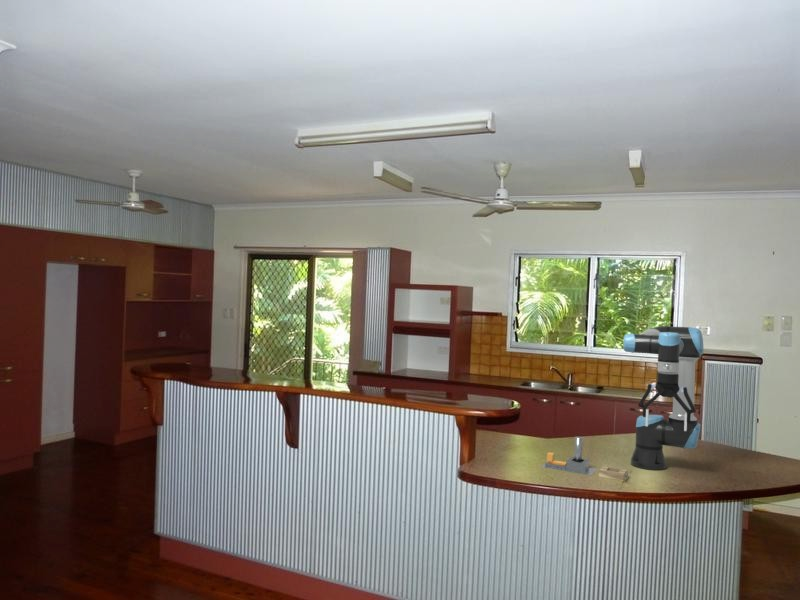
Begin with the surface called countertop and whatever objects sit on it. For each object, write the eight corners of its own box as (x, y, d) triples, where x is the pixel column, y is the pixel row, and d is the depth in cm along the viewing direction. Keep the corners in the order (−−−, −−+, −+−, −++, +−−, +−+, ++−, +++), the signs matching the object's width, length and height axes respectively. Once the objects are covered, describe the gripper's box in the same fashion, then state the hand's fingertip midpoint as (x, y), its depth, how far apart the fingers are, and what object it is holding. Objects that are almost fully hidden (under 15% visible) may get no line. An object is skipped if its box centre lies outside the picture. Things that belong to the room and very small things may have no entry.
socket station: (547, 463, 282) (547, 452, 282) (596, 471, 271) (597, 459, 271) (539, 469, 271) (540, 457, 271) (590, 478, 261) (591, 466, 261)
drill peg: (574, 467, 272) (575, 436, 271) (582, 469, 270) (583, 437, 270) (573, 469, 269) (574, 437, 269) (580, 470, 267) (581, 438, 267)
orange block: (548, 463, 277) (549, 452, 277) (567, 466, 273) (567, 455, 273) (546, 464, 275) (547, 453, 274) (565, 468, 270) (565, 456, 270)
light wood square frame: (603, 473, 269) (603, 465, 269) (627, 477, 264) (627, 469, 264) (598, 478, 260) (598, 470, 260) (623, 483, 255) (623, 474, 255)
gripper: (631, 370, 238) (630, 425, 238) (703, 376, 226) (701, 434, 227) (634, 369, 245) (632, 422, 245) (704, 374, 233) (702, 430, 233)
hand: (665, 428), depth 236 cm, fingers open, 13 cm apart
